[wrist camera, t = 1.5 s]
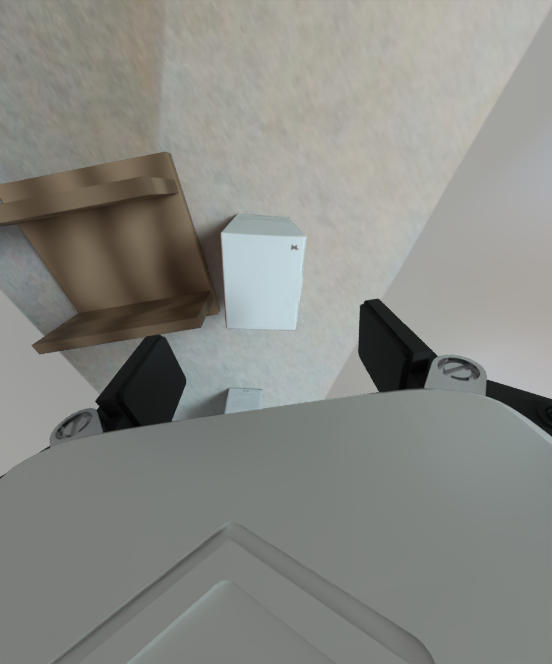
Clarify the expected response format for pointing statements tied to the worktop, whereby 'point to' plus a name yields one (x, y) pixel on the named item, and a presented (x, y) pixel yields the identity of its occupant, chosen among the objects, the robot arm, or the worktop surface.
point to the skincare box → (243, 400)
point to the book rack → (115, 249)
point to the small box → (262, 272)
